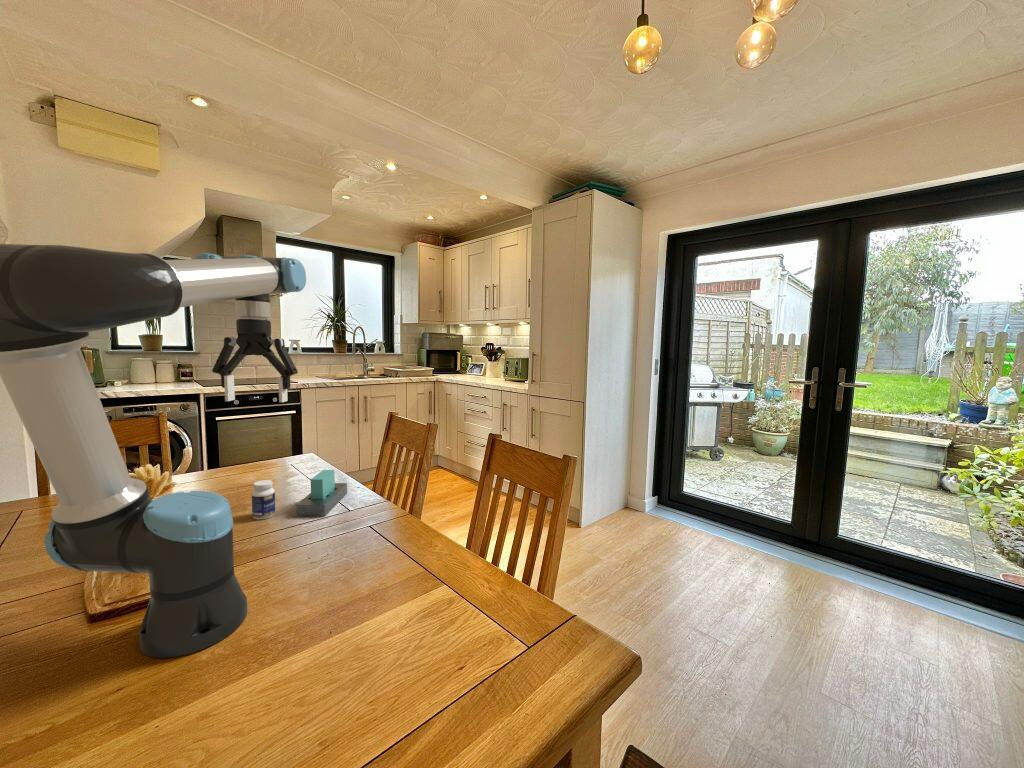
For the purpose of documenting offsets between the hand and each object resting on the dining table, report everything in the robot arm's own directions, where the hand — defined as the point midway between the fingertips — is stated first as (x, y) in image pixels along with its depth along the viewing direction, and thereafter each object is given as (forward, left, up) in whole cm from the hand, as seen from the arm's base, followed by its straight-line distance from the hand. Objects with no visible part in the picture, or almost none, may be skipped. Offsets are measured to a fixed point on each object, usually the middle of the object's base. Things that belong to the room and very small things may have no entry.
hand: (256, 401), depth 106 cm
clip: (+16, -10, -34) cm, 39 cm away
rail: (+16, -10, -35) cm, 39 cm away
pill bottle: (+7, +3, -35) cm, 36 cm away
